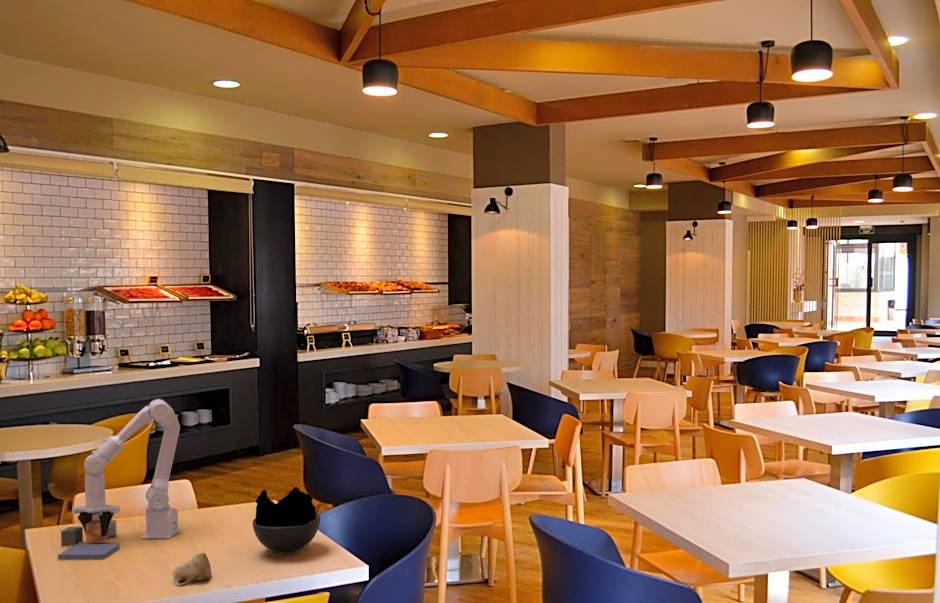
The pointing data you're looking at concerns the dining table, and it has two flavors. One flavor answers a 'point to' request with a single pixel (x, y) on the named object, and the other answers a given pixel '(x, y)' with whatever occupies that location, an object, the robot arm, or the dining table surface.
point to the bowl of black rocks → (286, 521)
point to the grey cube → (112, 530)
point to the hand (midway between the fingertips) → (96, 535)
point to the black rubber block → (71, 536)
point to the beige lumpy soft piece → (193, 570)
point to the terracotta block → (94, 532)
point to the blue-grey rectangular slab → (89, 551)
